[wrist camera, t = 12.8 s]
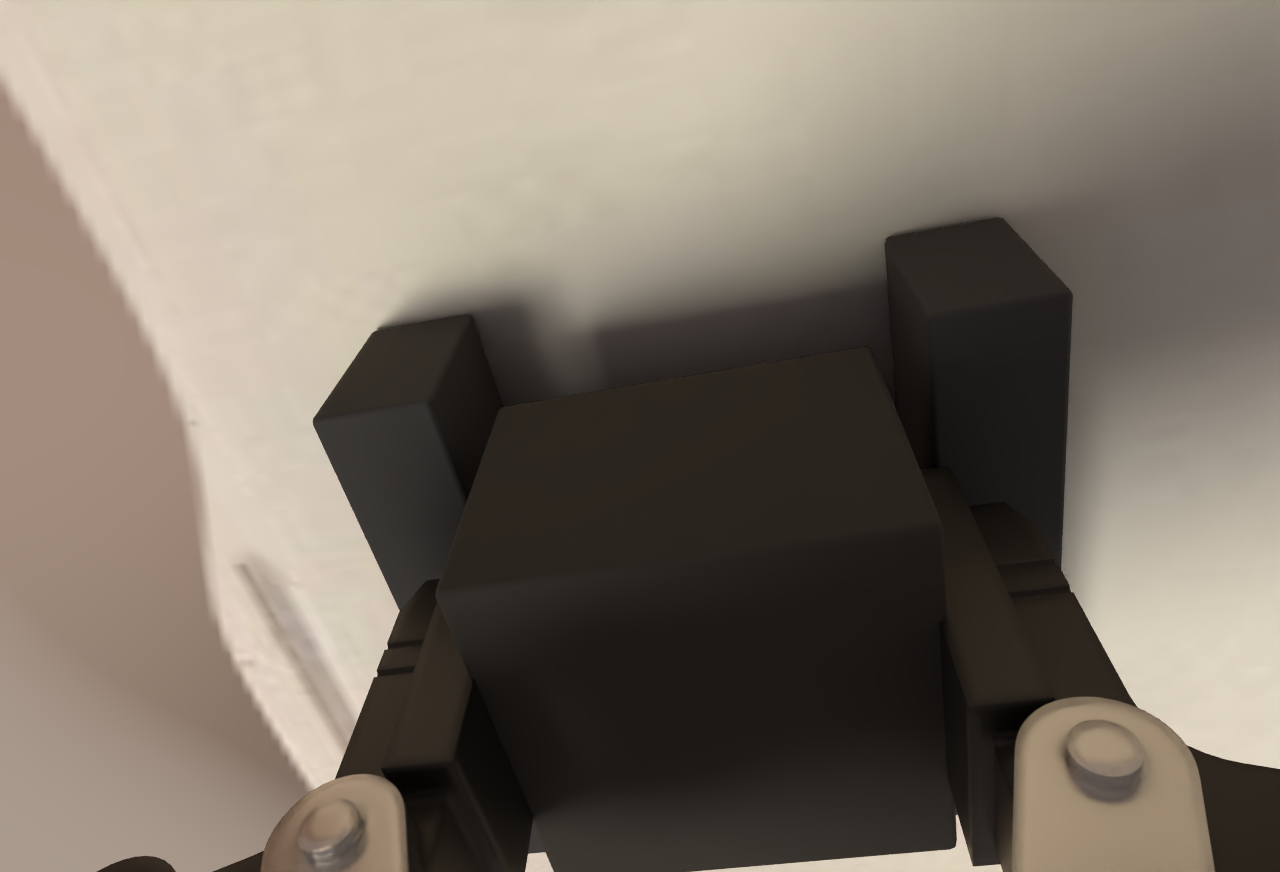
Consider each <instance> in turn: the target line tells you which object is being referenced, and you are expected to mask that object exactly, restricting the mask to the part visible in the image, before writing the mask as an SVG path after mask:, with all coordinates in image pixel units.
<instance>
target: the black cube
mask: <svg viewBox="0 0 1280 872" xmlns="http://www.w3.org/2000/svg"><path fill="white" fill-rule="evenodd" d="M435 596H436V600H437V602H438V605H439V607H440V609H441V611H442V614H443V616H444V618H445V621H446V623H447V625H448V628H449V630H450V632H451V635H452V637H453V639H454V642H455V644H456V646H457V648H458V651H459V653H460V655H461V658H462V660H463V662H464V665H465V667H466V669H467V672H468V674H469V676H470V678H474V680H475V683H476V685H477V687H478V690H479V692H480V694H481V697H482V699H483V701H484V704H485V706H486V708H487V711H488V713H489V715H490V718H491V720H492V722H493V725H494V727H495V729H496V732H497V734H498V736H499V739H500V741H501V743H502V746H503V748H504V750H505V752H506V755H507V757H508V759H509V762H510V764H511V766H512V769H513V771H514V773H515V776H516V778H517V780H518V783H519V785H520V787H521V790H522V792H523V794H524V797H525V799H526V801H527V804H528V806H529V808H530V811H531V813H532V815H533V824H534V826H535V829H536V831H537V833H538V836H539V838H540V840H541V843H542V845H543V847H544V850H545V852H546V854H547V857H548V859H549V861H550V863H551V866H552V868H553V870H554V872H691V871H703V870H715V869H726V868H738V867H750V866H761V865H773V864H784V863H796V862H808V861H819V860H831V859H842V858H854V857H866V856H877V855H889V854H901V853H912V852H924V851H935V850H947V849H952V848H954V847H955V846H956V841H957V837H956V814H955V803H954V799H953V796H952V792H951V789H950V786H949V782H948V779H947V762H946V742H945V722H944V702H943V682H942V662H941V642H940V622H942V621H944V620H946V616H947V606H946V583H945V560H944V537H943V525H942V523H941V520H940V518H939V515H938V513H937V510H936V508H935V505H934V503H933V500H932V498H931V495H930V493H929V490H928V488H927V485H926V483H925V480H924V478H923V475H922V473H921V470H920V468H919V466H918V463H917V461H916V458H915V456H914V453H913V451H912V448H911V446H910V443H909V441H908V438H907V436H906V433H905V431H904V428H903V426H902V423H901V421H900V418H899V416H898V413H897V411H896V408H895V406H894V403H893V401H892V398H891V396H890V393H889V391H888V388H887V386H886V383H885V381H884V378H883V376H882V373H881V371H880V368H879V366H878V363H877V361H876V358H875V356H874V353H873V352H872V350H871V348H869V347H861V348H855V349H849V350H843V351H837V352H831V353H825V354H819V355H813V356H807V357H801V358H795V359H789V360H783V361H777V362H771V363H765V364H759V365H753V366H747V367H741V368H735V369H728V370H722V371H716V372H710V373H704V374H698V375H692V376H686V377H680V378H674V379H668V380H662V381H656V382H650V383H644V384H638V385H632V386H626V387H620V388H614V389H608V390H602V391H596V392H590V393H584V394H578V395H572V396H566V397H560V398H554V399H548V400H542V401H536V402H530V403H524V404H518V405H512V406H506V407H503V408H501V409H499V410H498V413H497V416H496V419H495V422H494V425H493V428H492V431H491V433H490V436H489V439H488V442H487V445H486V448H485V451H484V454H483V456H482V459H481V462H480V465H479V468H478V471H477V474H476V477H475V479H474V482H473V485H472V488H471V491H470V494H469V497H468V500H467V502H466V505H465V508H464V511H463V514H462V517H461V520H460V523H459V525H458V528H457V531H456V534H455V537H454V540H453V543H452V546H451V548H450V551H449V554H448V557H447V560H446V563H445V566H444V569H443V571H442V574H441V577H440V580H439V583H438V586H437V589H436V595H435Z"/></svg>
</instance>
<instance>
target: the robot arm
mask: <svg viewBox="0 0 1280 872" xmlns="http://www.w3.org/2000/svg"><path fill="white" fill-rule="evenodd" d="M921 473H922V475H923V478H924V480H925V483H926V485H927V488H928V490H929V493H930V495H931V498H932V500H933V503H934V505H935V508H936V510H937V513H938V515H939V518H940V520H941V523H942V525H943V537H944V560H945V583H946V606H947V616H946V620H944V621H942V622H940V642H941V662H942V682H943V702H944V722H945V742H946V762H947V779H948V782H949V786H950V789H951V792H952V796H953V799H954V803H955V806H956V810H957V813H958V816H959V820H960V823H961V827H962V830H963V834H964V837H965V840H966V844H967V847H968V851H969V854H970V858H971V861H972V864H973V866H984V865H996V864H1001V867H1002V870H1003V872H1280V769H1275V768H1269V767H1263V766H1257V765H1250V764H1244V763H1239V762H1234V761H1230V760H1225V759H1222V758H1218V757H1215V756H1212V755H1209V754H1206V753H1203V752H1201V751H1199V750H1196V749H1194V748H1192V747H1189V746H1187V745H1186V744H1185V743H1184V741H1183V740H1182V739H1181V738H1180V737H1179V736H1178V735H1177V734H1176V733H1175V732H1174V731H1173V730H1172V729H1171V728H1170V727H1169V726H1167V725H1166V724H1165V723H1163V722H1162V721H1161V720H1159V719H1158V718H1156V717H1154V716H1153V715H1151V714H1149V713H1147V712H1146V711H1144V710H1141V709H1139V708H1138V707H1137V706H1136V705H1135V703H1134V702H1133V700H1132V699H1131V697H1130V696H1129V694H1128V692H1127V690H1126V688H1125V687H1124V685H1123V683H1122V681H1121V679H1120V677H1119V675H1118V674H1117V672H1116V670H1115V668H1114V666H1113V664H1112V663H1111V661H1110V659H1109V657H1108V655H1107V653H1106V652H1105V650H1104V648H1103V646H1102V644H1101V642H1100V641H1099V639H1098V637H1097V635H1096V633H1095V631H1094V630H1093V628H1092V626H1091V624H1090V622H1089V620H1088V619H1087V617H1086V615H1085V613H1084V611H1083V609H1082V608H1081V606H1080V604H1079V602H1078V600H1077V598H1076V597H1075V595H1074V593H1071V591H1070V586H1069V584H1068V582H1067V580H1066V578H1065V576H1064V574H1063V573H1062V571H1061V569H1060V567H1059V565H1056V563H1055V558H1054V556H1053V554H1052V552H1051V551H1050V549H1049V547H1048V545H1047V543H1046V541H1045V540H1044V538H1043V536H1042V534H1041V532H1040V530H1039V529H1038V527H1037V526H1036V525H1035V524H1033V523H1032V522H1031V521H1029V520H1028V519H1027V518H1025V517H1024V516H1023V515H1021V514H1020V513H1019V512H1017V511H1016V510H1015V509H1013V508H1012V507H1011V506H1009V505H1008V504H1006V503H1005V502H1004V501H1003V502H996V503H988V504H981V505H974V506H969V505H968V503H967V501H966V499H965V497H964V494H963V492H962V490H961V488H960V486H959V483H958V481H957V479H956V477H955V475H954V472H953V471H952V469H951V468H950V467H949V466H945V467H938V468H931V469H924V470H921ZM439 580H440V579H434V580H427V581H425V582H424V584H423V585H422V586H421V587H420V588H419V589H418V591H417V592H416V593H415V594H414V595H413V596H412V598H411V599H410V600H409V601H408V602H407V603H406V604H405V606H404V607H403V608H402V609H401V610H400V612H399V614H398V617H397V620H396V622H395V625H394V627H393V630H392V633H391V635H390V638H389V640H388V643H387V644H388V650H385V651H384V653H383V656H382V658H381V661H380V664H379V666H378V669H377V673H378V676H377V677H374V679H373V682H372V684H371V687H370V690H369V692H368V695H367V697H366V700H365V703H364V705H363V708H362V710H361V713H360V716H359V718H358V721H357V723H356V726H355V728H354V731H353V734H352V736H351V739H350V741H349V744H348V747H347V749H346V752H345V754H344V757H343V760H342V762H341V765H340V767H339V770H338V773H337V775H336V778H335V780H332V781H330V782H328V783H326V784H323V785H322V786H320V787H318V788H316V789H315V790H313V791H311V792H310V793H309V794H307V795H306V796H304V798H302V799H301V800H299V801H298V802H297V803H296V804H295V805H294V806H293V807H292V808H291V809H290V810H289V811H288V812H287V813H286V814H285V815H284V816H283V817H282V819H281V820H280V822H279V823H278V824H277V826H276V827H275V828H274V830H273V832H272V834H271V836H270V837H269V839H268V842H267V844H266V847H265V850H264V851H262V852H260V853H258V854H256V855H254V856H251V857H249V858H246V859H244V860H241V861H239V862H236V863H234V864H231V865H229V866H227V867H223V868H221V869H218V870H216V871H213V872H525V868H526V862H527V856H528V849H529V843H530V837H531V831H532V824H533V815H532V813H531V811H530V808H529V806H528V804H527V801H526V799H525V797H524V794H523V792H522V790H521V787H520V785H519V783H518V780H517V778H516V776H515V773H514V771H513V769H512V766H511V764H510V762H509V759H508V757H507V755H506V752H505V750H504V748H503V746H502V743H501V741H500V739H499V736H498V734H497V732H496V729H495V727H494V725H493V722H492V720H491V718H490V715H489V713H488V711H487V708H486V706H485V704H484V701H483V699H482V697H481V694H480V692H479V690H478V687H477V685H476V683H475V680H474V678H470V676H469V674H468V672H467V669H466V667H465V665H464V662H463V660H462V658H461V655H460V653H459V651H458V648H457V646H456V644H455V642H454V639H453V637H452V635H451V632H450V630H449V628H448V625H447V623H446V621H445V618H444V616H443V614H442V611H441V609H440V607H439V605H438V602H437V600H436V596H435V595H436V589H437V586H438V583H439ZM97 872H176V871H175V870H174V869H173V867H172V866H171V865H170V864H168V863H167V862H166V861H165V860H162V859H160V858H157V857H150V856H141V857H134V858H129V859H125V860H122V861H119V862H117V863H114V864H111V865H109V866H107V867H105V868H103V869H101V870H99V871H97Z"/></svg>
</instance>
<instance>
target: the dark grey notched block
mask: <svg viewBox="0 0 1280 872" xmlns="http://www.w3.org/2000/svg"><path fill="white" fill-rule="evenodd" d="M885 257H886V271H887V285H888V299H889V313H890V327H891V341H892V355H893V368H894V382H895V396H896V410H897V413H898V416H899V418H900V421H901V423H902V426H903V428H904V431H905V433H906V436H907V438H908V441H909V443H910V446H911V448H912V451H913V453H914V456H915V458H916V461H917V463H918V466H919V468H920V470H924V469H931V468H938V467H945V466H949V467H950V468H951V469H952V471H953V472H954V475H955V477H956V479H957V481H958V483H959V486H960V488H961V490H962V492H963V494H964V497H965V499H966V501H967V503H968V505H969V506H974V505H981V504H988V503H996V502H1003V501H1004V502H1005V503H1006V504H1008V505H1009V506H1011V507H1012V508H1013V509H1015V510H1016V511H1017V512H1019V513H1020V514H1021V515H1023V516H1024V517H1025V518H1027V519H1028V520H1029V521H1031V522H1032V523H1033V524H1035V525H1036V526H1037V527H1038V529H1039V530H1040V532H1041V534H1042V536H1043V538H1044V540H1045V541H1046V543H1047V545H1048V547H1049V549H1050V551H1051V552H1052V554H1053V556H1054V558H1055V563H1056V565H1059V567H1060V569H1061V557H1062V534H1063V510H1064V487H1065V463H1066V440H1067V417H1068V393H1069V370H1070V347H1071V323H1072V300H1073V295H1072V293H1071V291H1070V290H1069V288H1068V287H1067V286H1066V285H1065V284H1064V283H1063V282H1062V281H1061V280H1060V279H1059V278H1058V277H1057V276H1056V275H1055V274H1054V272H1053V271H1052V270H1051V269H1050V268H1049V267H1048V266H1047V265H1046V264H1045V263H1044V262H1043V261H1042V260H1041V259H1040V258H1039V256H1038V255H1037V254H1036V253H1035V252H1034V251H1033V250H1032V249H1031V248H1030V247H1029V246H1028V245H1027V244H1026V243H1025V241H1024V240H1023V239H1022V238H1021V237H1020V236H1019V235H1018V234H1017V233H1016V232H1015V231H1014V230H1013V229H1012V228H1011V227H1010V225H1009V224H1008V223H1007V222H1006V221H1005V220H1004V219H1003V218H993V219H988V220H982V221H977V222H972V223H966V224H961V225H955V226H950V227H944V228H939V229H933V230H928V231H922V232H917V233H911V234H906V235H900V236H895V237H890V238H888V239H886V241H885ZM501 408H503V407H502V404H501V401H500V398H499V395H498V392H497V389H496V386H495V383H494V380H493V377H492V374H491V371H490V368H489V365H488V362H487V359H486V356H485V353H484V350H483V347H482V344H481V341H480V338H479V335H478V332H477V329H476V326H475V323H474V320H473V318H472V316H471V315H462V316H457V317H451V318H446V319H440V320H435V321H429V322H424V323H418V324H413V325H407V326H402V327H396V328H391V329H385V330H380V331H375V332H373V333H372V334H371V336H370V337H369V338H368V340H367V341H366V343H365V344H364V346H363V347H362V349H361V350H360V352H359V353H358V354H357V356H356V357H355V359H354V360H353V362H352V363H351V365H350V366H349V368H348V369H347V371H346V372H345V373H344V375H343V376H342V378H341V379H340V381H339V382H338V384H337V385H336V387H335V388H334V389H333V391H332V392H331V394H330V395H329V397H328V398H327V400H326V401H325V403H324V404H323V405H322V407H321V408H320V410H319V411H318V413H317V414H316V416H315V417H314V419H313V425H314V428H315V430H316V432H317V434H318V436H319V438H320V440H321V443H322V445H323V447H324V449H325V451H326V453H327V455H328V458H329V460H330V462H331V464H332V466H333V468H334V470H335V473H336V475H337V477H338V479H339V481H340V483H341V486H342V488H343V490H344V492H345V494H346V496H347V498H348V501H349V503H350V505H351V507H352V509H353V511H354V513H355V516H356V518H357V520H358V522H359V524H360V526H361V528H362V531H363V533H364V535H365V537H366V539H367V541H368V544H369V546H370V548H371V550H372V552H373V554H374V556H375V559H376V561H377V563H378V565H379V567H380V569H381V571H382V574H383V576H384V578H385V580H386V582H387V584H388V586H389V589H390V591H391V593H392V595H393V597H394V599H395V601H396V604H397V606H398V608H399V610H401V609H402V608H403V607H404V606H405V604H406V603H407V602H408V601H409V600H410V599H411V598H412V596H413V595H414V594H415V593H416V592H417V591H418V589H419V588H420V587H421V586H422V585H423V584H424V582H425V581H427V580H434V579H440V577H441V574H442V571H443V569H444V566H445V563H446V560H447V557H448V554H449V551H450V548H451V546H452V543H453V540H454V537H455V534H456V531H457V528H458V525H459V523H460V520H461V517H462V514H463V511H464V508H465V505H466V502H467V500H468V497H469V494H470V491H471V488H472V485H473V482H474V479H475V477H476V474H477V471H478V468H479V465H480V462H481V459H482V456H483V454H484V451H485V448H486V445H487V442H488V439H489V436H490V433H491V431H492V428H493V425H494V422H495V419H496V416H497V413H498V410H499V409H501ZM955 814H956V815H958V813H957V810H956V806H955ZM540 852H545V850H544V847H543V845H542V843H541V840H540V838H539V836H538V833H537V831H536V829H535V826H534V824H532V831H531V837H530V843H529V849H528V854H529V853H540Z"/></svg>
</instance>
